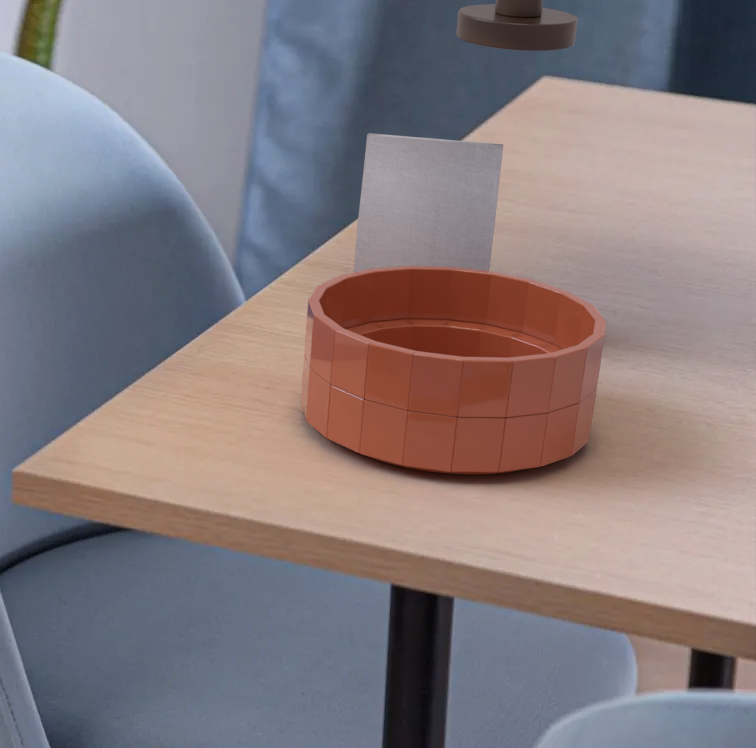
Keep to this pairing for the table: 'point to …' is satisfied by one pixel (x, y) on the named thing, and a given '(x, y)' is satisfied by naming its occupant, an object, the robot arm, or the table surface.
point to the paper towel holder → (517, 26)
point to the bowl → (451, 368)
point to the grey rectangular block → (427, 203)
